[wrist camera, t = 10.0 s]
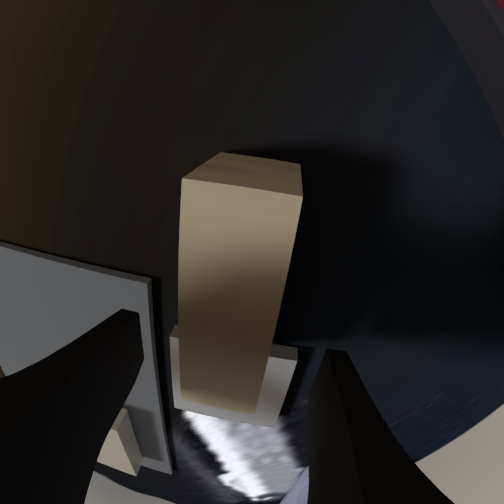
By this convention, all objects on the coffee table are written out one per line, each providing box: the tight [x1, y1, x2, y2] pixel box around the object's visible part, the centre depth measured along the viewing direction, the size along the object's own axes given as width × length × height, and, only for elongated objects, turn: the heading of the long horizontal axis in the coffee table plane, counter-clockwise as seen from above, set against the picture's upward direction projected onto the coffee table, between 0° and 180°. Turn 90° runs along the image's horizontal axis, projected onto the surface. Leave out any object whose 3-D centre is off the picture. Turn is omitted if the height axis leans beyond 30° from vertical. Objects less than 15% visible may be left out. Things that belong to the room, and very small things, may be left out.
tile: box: [21, 366, 143, 476], centre depth 16 cm, size 2×8×7 cm
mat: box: [0, 241, 173, 474], centre depth 16 cm, size 18×14×1 cm
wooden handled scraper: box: [170, 152, 303, 427], centre depth 10 cm, size 12×5×4 cm, turn 172°
